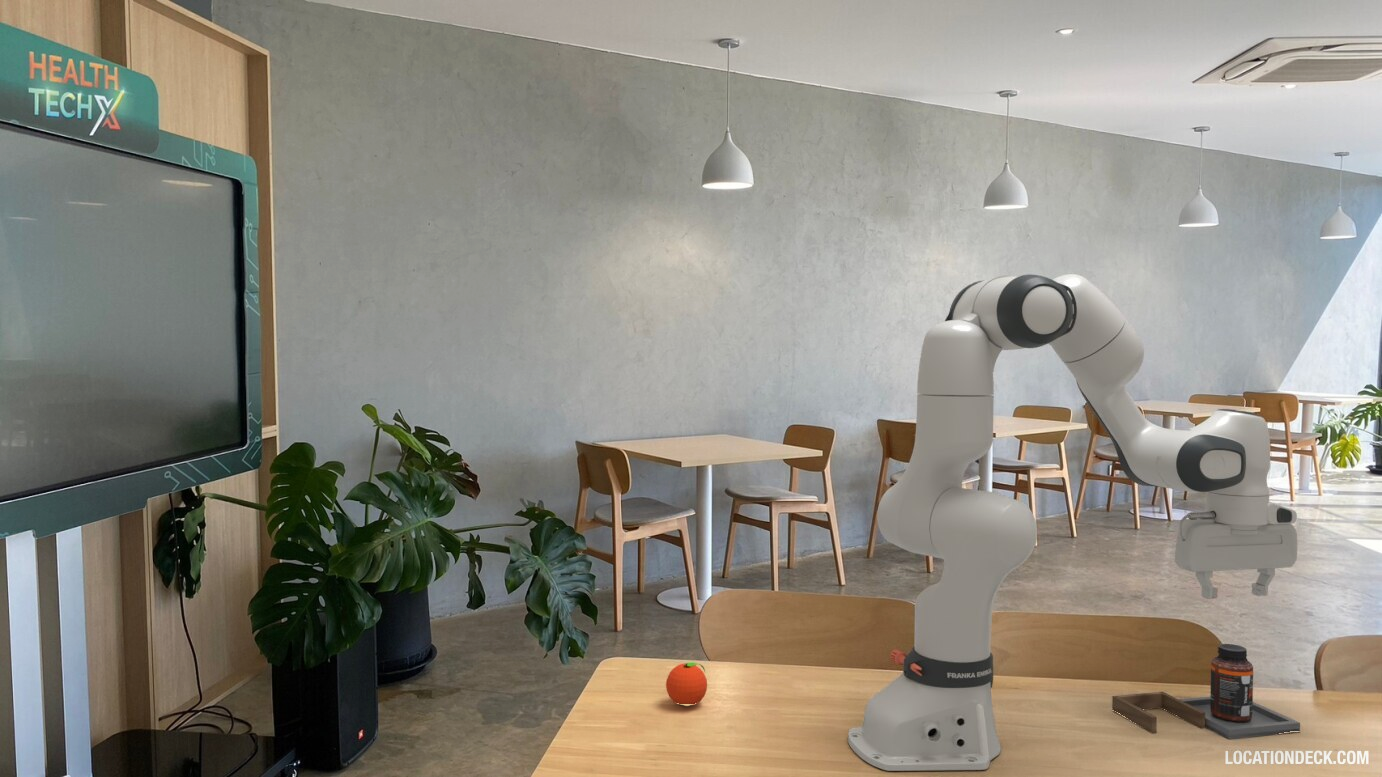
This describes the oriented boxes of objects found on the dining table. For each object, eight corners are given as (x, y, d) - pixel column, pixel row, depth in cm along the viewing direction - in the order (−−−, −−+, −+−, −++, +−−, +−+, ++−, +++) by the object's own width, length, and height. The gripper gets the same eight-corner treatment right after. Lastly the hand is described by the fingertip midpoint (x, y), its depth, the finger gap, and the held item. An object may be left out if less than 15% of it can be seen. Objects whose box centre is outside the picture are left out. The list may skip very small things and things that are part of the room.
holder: (1152, 733, 149) (1152, 717, 149) (1112, 710, 158) (1112, 696, 158) (1205, 728, 151) (1205, 712, 151) (1162, 706, 160) (1162, 691, 160)
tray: (1229, 739, 146) (1229, 729, 146) (1168, 709, 159) (1169, 700, 159) (1299, 732, 149) (1300, 722, 149) (1235, 702, 162) (1235, 694, 162)
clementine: (690, 693, 166) (690, 652, 166) (720, 703, 162) (720, 661, 161) (657, 705, 161) (657, 663, 160) (686, 716, 156) (686, 673, 156)
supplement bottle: (1258, 725, 151) (1259, 653, 150) (1216, 722, 152) (1218, 651, 152) (1244, 711, 157) (1246, 642, 156) (1205, 708, 158) (1206, 640, 157)
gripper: (1195, 515, 148) (1193, 604, 148) (1305, 512, 152) (1303, 598, 153) (1166, 509, 154) (1164, 594, 154) (1273, 506, 158) (1271, 589, 159)
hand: (1234, 596), depth 153 cm, fingers open, 8 cm apart
